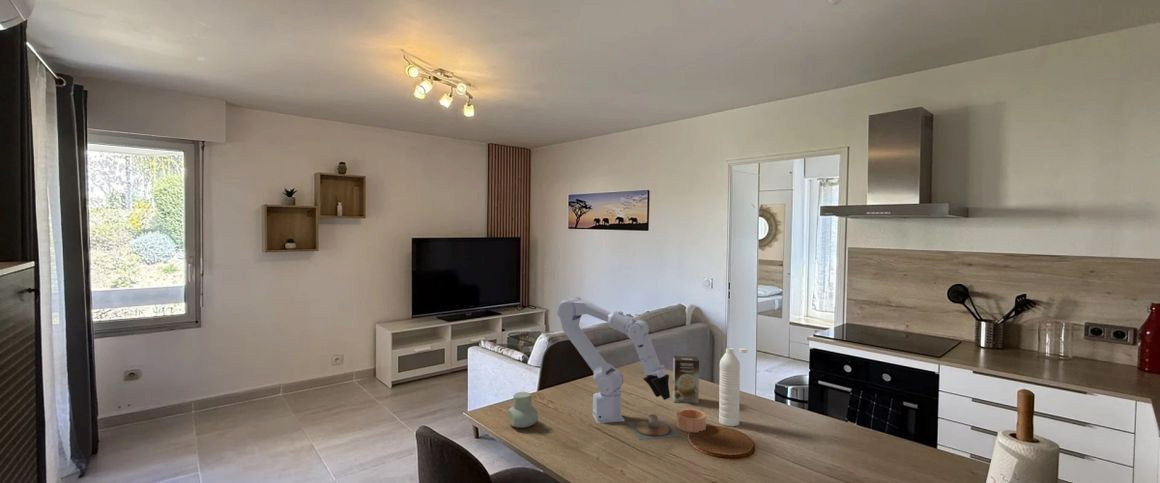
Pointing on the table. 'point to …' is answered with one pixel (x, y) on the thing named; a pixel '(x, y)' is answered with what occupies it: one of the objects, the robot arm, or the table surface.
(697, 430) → the bowl
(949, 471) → the table surface
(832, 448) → the table surface
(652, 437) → the mat
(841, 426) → the table surface
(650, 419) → the lid
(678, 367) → the coffee box
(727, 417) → the water bottle
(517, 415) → the air freshener
